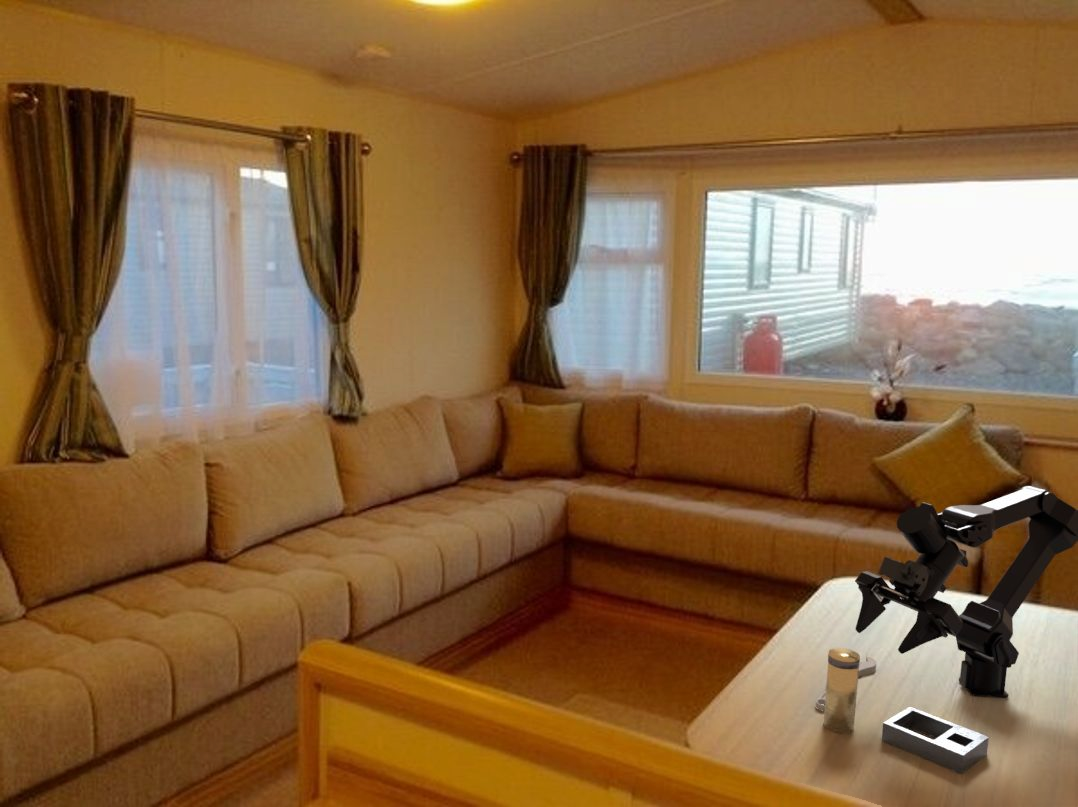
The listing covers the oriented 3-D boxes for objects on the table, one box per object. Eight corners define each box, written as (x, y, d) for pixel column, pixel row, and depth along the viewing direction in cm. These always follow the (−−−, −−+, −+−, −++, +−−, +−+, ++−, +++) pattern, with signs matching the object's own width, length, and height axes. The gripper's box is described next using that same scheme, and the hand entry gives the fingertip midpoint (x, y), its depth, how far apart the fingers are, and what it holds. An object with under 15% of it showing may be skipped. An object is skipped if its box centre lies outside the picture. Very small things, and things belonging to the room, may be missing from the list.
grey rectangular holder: (986, 755, 144) (988, 737, 143) (961, 774, 138) (963, 755, 138) (908, 723, 153) (910, 706, 153) (881, 740, 148) (883, 722, 147)
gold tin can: (849, 719, 154) (855, 648, 152) (857, 734, 149) (863, 661, 148) (819, 718, 155) (825, 647, 153) (827, 732, 150) (832, 659, 148)
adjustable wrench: (828, 716, 156) (829, 706, 156) (792, 704, 160) (793, 694, 160) (879, 668, 176) (880, 659, 175) (846, 658, 180) (847, 650, 179)
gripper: (867, 526, 161) (814, 594, 158) (957, 557, 145) (900, 634, 142) (896, 564, 166) (845, 631, 163) (986, 598, 150) (932, 674, 146)
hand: (878, 641), depth 153 cm, fingers open, 9 cm apart
